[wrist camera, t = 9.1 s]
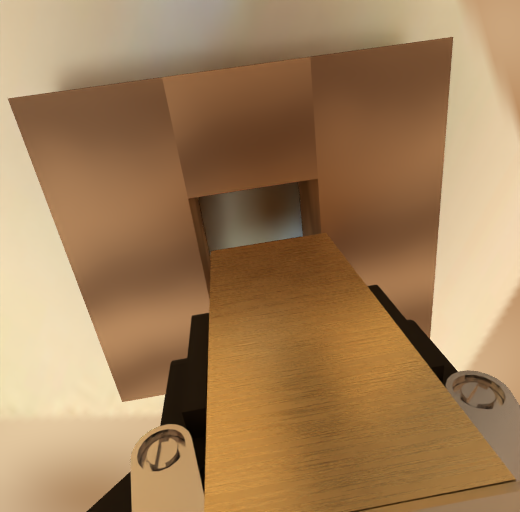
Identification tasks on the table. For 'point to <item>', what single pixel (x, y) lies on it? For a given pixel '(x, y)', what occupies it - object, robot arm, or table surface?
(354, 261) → the socket block
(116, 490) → the robot arm
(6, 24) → the table surface
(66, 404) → the table surface
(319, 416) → the square peg
